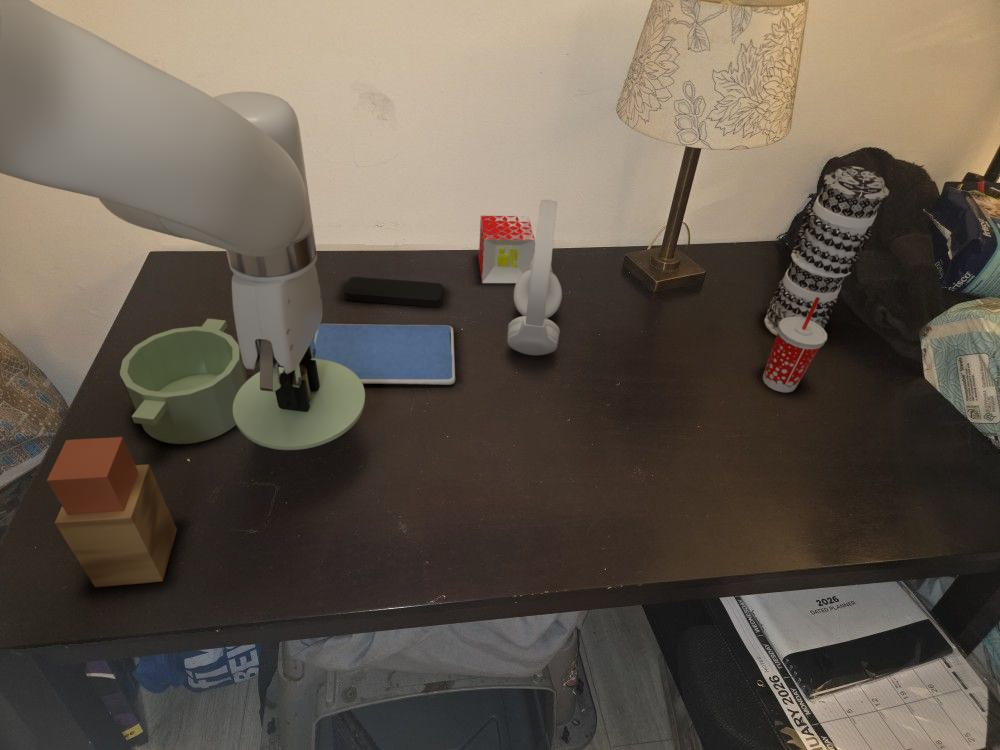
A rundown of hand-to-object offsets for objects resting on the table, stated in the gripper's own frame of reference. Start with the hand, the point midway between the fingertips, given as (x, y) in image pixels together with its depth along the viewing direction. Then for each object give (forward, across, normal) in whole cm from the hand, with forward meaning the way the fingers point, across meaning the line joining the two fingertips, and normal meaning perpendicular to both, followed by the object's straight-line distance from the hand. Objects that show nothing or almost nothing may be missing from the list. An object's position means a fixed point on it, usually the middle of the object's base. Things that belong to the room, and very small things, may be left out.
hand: (299, 397), depth 69 cm
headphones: (+9, -28, +24) cm, 38 cm away
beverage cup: (+9, -24, +59) cm, 64 cm away
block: (-1, +16, -12) cm, 20 cm away
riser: (+9, +16, -12) cm, 22 cm away
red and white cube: (+10, -45, +18) cm, 49 cm away
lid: (+1, 0, 0) cm, 1 cm away
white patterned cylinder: (+10, -38, +64) cm, 75 cm away
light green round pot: (+9, -5, -16) cm, 19 cm away
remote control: (+9, -34, +2) cm, 35 cm away
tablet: (+9, -19, +4) cm, 22 cm away
